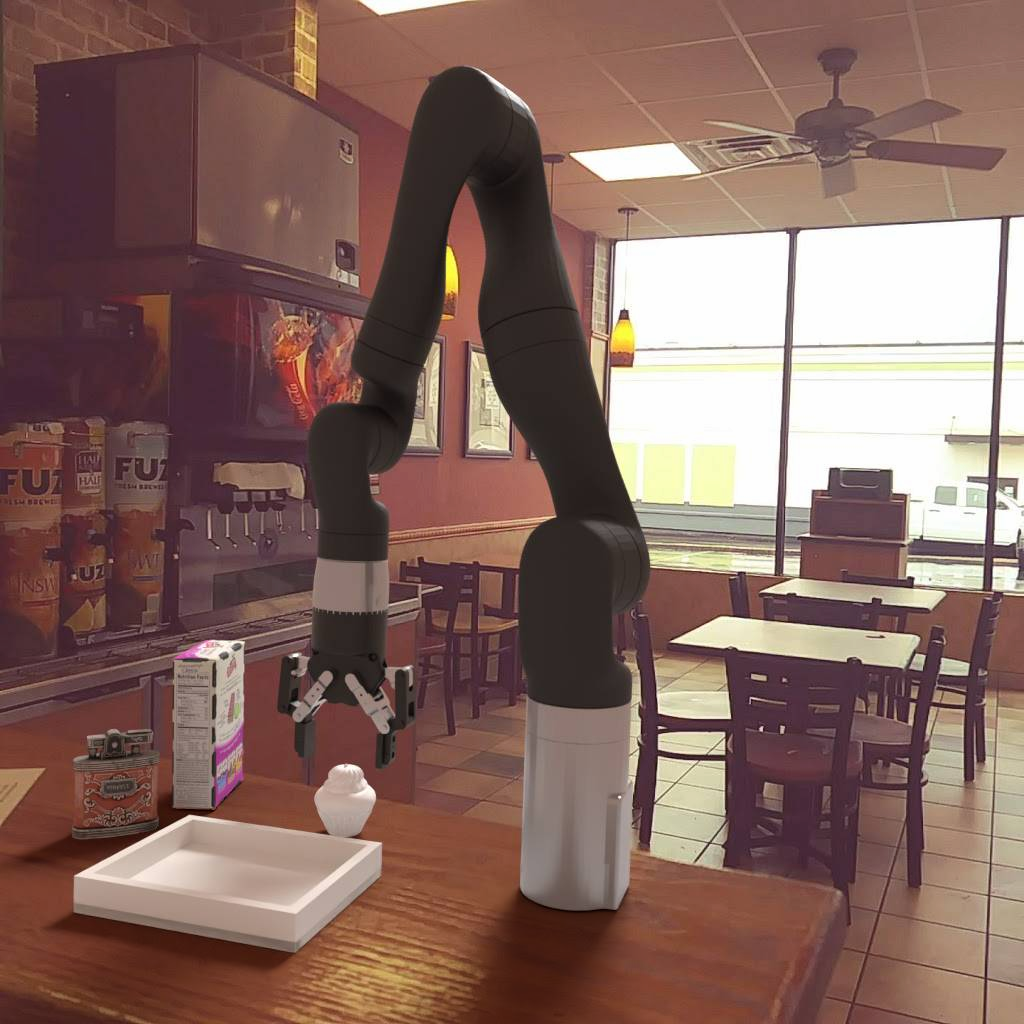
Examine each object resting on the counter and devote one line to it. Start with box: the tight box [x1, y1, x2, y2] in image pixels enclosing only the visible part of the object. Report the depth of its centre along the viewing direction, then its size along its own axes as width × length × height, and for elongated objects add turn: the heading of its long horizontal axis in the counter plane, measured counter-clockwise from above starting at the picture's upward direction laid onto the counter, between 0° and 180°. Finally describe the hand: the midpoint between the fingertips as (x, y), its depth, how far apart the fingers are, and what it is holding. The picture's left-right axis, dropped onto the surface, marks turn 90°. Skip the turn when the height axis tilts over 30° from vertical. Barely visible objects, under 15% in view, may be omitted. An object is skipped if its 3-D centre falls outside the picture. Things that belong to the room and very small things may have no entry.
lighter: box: [71, 728, 161, 840], centre depth 102 cm, size 8×3×10 cm, turn 118°
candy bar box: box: [171, 639, 246, 809], centre depth 114 cm, size 11×5×16 cm, turn 179°
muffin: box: [313, 763, 377, 838], centre depth 104 cm, size 6×6×7 cm
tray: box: [72, 814, 383, 954], centre depth 89 cm, size 20×16×3 cm
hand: (343, 762), depth 104 cm, fingers open, 8 cm apart
